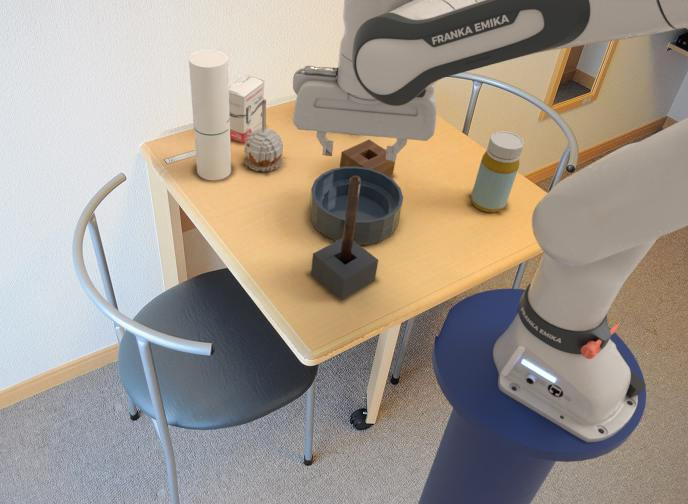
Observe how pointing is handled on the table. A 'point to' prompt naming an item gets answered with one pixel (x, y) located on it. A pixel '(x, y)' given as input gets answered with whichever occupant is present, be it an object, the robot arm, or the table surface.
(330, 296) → the table surface
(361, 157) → the holder
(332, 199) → the bowl
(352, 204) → the stick
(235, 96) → the ink box
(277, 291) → the table surface
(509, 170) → the bottle
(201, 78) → the cylindrical container
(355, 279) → the stand
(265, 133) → the grey round-headed piece
